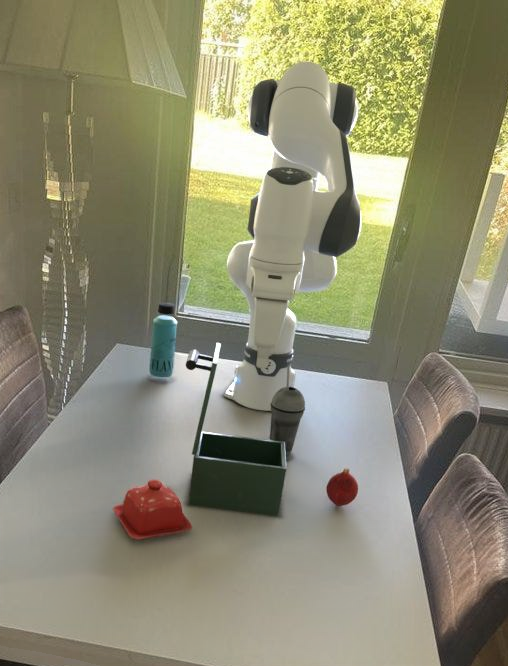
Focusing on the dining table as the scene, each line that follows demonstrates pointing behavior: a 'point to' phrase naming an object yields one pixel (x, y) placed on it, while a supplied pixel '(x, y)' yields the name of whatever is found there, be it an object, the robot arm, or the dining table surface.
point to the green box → (238, 473)
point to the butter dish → (152, 511)
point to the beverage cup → (286, 415)
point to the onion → (342, 488)
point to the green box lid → (192, 365)
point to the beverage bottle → (163, 342)
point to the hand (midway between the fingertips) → (261, 357)
